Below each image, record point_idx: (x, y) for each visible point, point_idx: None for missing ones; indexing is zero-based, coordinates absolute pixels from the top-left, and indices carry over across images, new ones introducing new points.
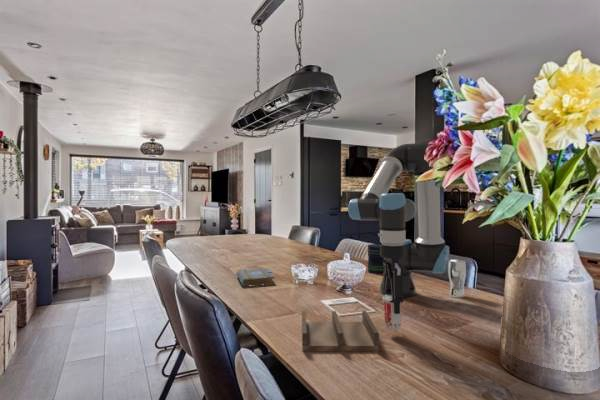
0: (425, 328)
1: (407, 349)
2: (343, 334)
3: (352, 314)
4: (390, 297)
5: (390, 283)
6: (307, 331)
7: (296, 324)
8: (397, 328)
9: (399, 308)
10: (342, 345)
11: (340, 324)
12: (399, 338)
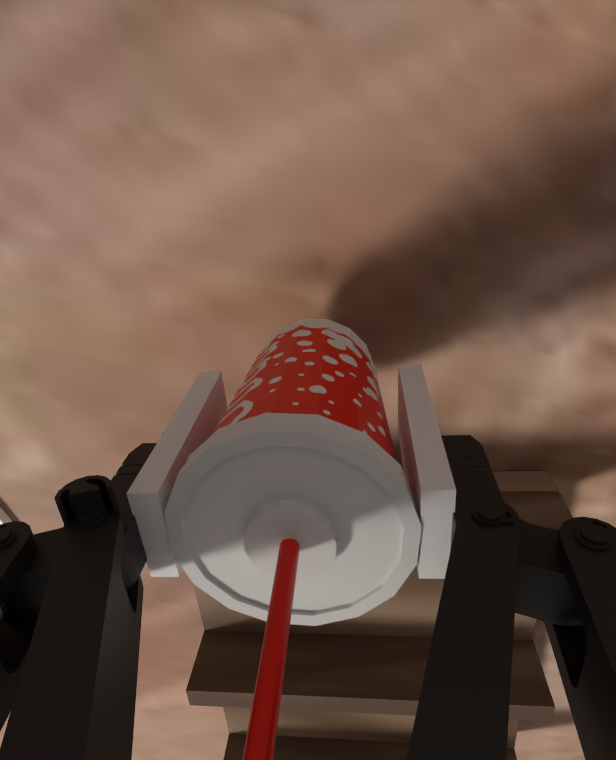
0: (135, 33)
1: (546, 304)
2: (385, 620)
3: (4, 517)
4: (302, 569)
5: (119, 690)
6: (350, 735)
7: (214, 733)
8: (370, 356)
9: (493, 475)
10: (532, 642)
11: (242, 616)
12: (364, 313)
